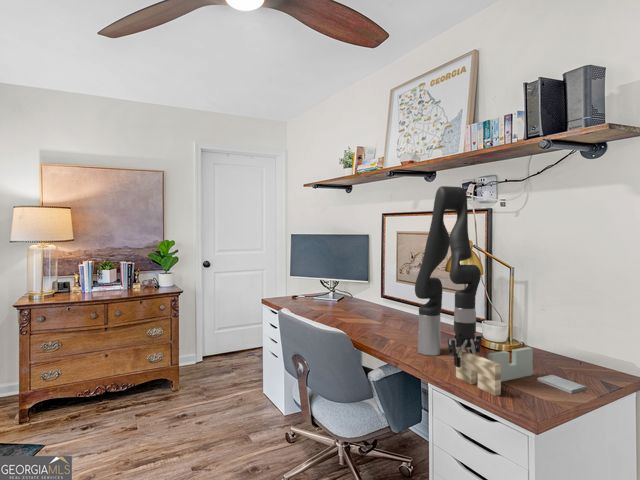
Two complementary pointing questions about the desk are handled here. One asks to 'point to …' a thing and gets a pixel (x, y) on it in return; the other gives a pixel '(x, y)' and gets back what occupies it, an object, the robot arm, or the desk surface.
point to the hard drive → (562, 383)
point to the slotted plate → (514, 363)
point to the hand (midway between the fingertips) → (464, 365)
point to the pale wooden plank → (480, 372)
